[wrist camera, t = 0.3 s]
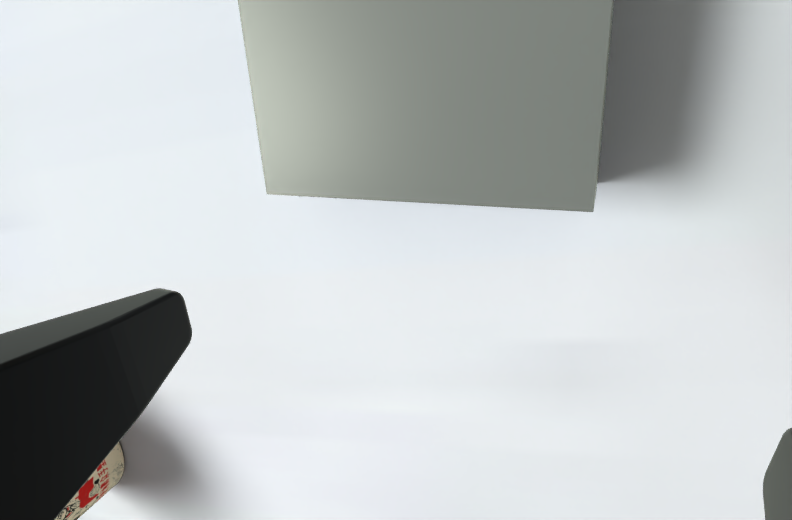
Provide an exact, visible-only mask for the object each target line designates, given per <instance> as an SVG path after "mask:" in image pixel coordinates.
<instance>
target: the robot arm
mask: <svg viewBox="0 0 792 520" xmlns="http://www.w3.org/2000/svg"><path fill="white" fill-rule="evenodd" d="M191 337H192V328H191V324H190V320H189V316H188V313H187V309H186V305H185V301H184V298H183V297H182V295H181V294H180V293H178V292H176V291H171V290H167V289H161V288H158V289H153V290H150V291H146V292H143V293H139V294H136V295H132V296H129V297H126V298H122V299H119V300H115V301H112V302H109V303H105V304H102V305H98V306H95V307H91V308H88V309H85V310H81V311H78V312H74V313H71V314H68V315H64V316H61V317H57V318H54V319H50V320H47V321H44V322H40V323H37V324H33V325H30V326H27V327H23V328H20V329H16V330H13V331H10V332H6V333H3V334H0V520H55V519H56V518H57V516H58V515H59V514H60V513H61V512H62V510H63V509H64V508H65V507H66V505H67V504H68V503H69V502H70V501H71V499H72V498H73V497H74V496H75V494H76V493H77V492H78V491H79V490H80V488H81V487H82V486H83V485H84V484H85V482H86V481H87V480H88V479H89V477H90V476H91V475H92V474H93V473H94V471H95V470H96V469H97V468H98V467H99V465H100V464H101V463H102V462H103V460H104V459H105V458H106V457H107V456H108V454H109V453H110V452H111V451H112V450H113V448H114V447H115V446H116V445H117V443H118V442H119V441H120V440H121V439H122V437H123V436H124V435H125V434H126V433H127V431H128V430H129V429H130V428H131V426H132V425H133V424H134V423H135V421H136V420H137V419H138V418H139V416H140V415H141V414H142V412H143V411H144V409H145V408H146V407H147V405H148V404H149V402H150V401H151V399H152V398H153V396H154V395H155V394H156V392H157V391H158V389H159V388H160V386H161V385H162V383H163V382H164V380H165V379H166V377H167V376H168V374H169V373H170V372H171V370H172V369H173V367H174V366H175V364H176V363H177V361H178V360H179V358H180V357H181V355H182V354H183V353H184V351H185V350H186V348H187V347H188V345H189V343H190V341H191ZM763 498H764V509H765V520H792V428H790V429H788V430H787V431H786V432H785V433H784V434H783V436H782V438H781V440H780V442H779V444H778V447H777V449H776V451H775V453H774V455H773V457H772V460H771V462H770V464H769V466H768V468H767V470H766V473H765V476H764V482H763Z"/></svg>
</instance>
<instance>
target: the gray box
mask: <svg viewBox="0 0 792 520" xmlns="http://www.w3.org/2000/svg"><path fill="white" fill-rule="evenodd" d="M238 5H239V11H240V18H241V25H242V31H243V38H244V45H245V51H246V58H247V65H248V71H249V78H250V85H251V91H252V98H253V105H254V111H255V118H256V125H257V131H258V138H259V145H260V152H261V158H262V165H263V172H264V178H265V185H266V192H267V194H273V195H291V196H309V197H327V198H346V199H364V200H382V201H401V202H419V203H437V204H455V205H474V206H492V207H510V208H529V209H547V210H565V211H583V212H593V209H594V203H595V196H596V189H597V182H598V171H599V160H600V149H601V138H602V127H603V116H604V105H605V94H606V83H607V72H608V61H609V50H610V39H611V28H612V17H613V6H614V0H238Z"/></svg>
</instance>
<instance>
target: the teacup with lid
mask: <svg viewBox="0 0 792 520" xmlns="http://www.w3.org/2000/svg"><path fill="white" fill-rule="evenodd" d="M123 471H124V457H123V452H122V449H121V446H120V444H119V442H118V443H117V445H116V446H115V447H114V448H113V450H112V451H111V452H110V453H109V454H108V456H107V457H106V458H105V459H104V460H103V462H102V463H101V464H100V465H99V467H98V468H97V469H96V470H95V471H94V473H93V474H92V475H91V476H90V477H89V479H88V480H87V481H86V482H85V484H84V485H83V486H82V487H81V488H80V490H79V491H78V492H77V493H76V494H75V496H74V497H73V498H72V499H71V501H70V502H69V503H68V504H67V505H66V507H65V508H64V509H63V510H62V512H61V513H60V514H59V515H58V516H57V518H56V519H55V520H77V519H78V518H79V517H80V516H81V515H83V514H84V513H85V512H86V511H87V510H88V509H89V508H90V507H91V506H93V505H94V504H95V503H96V502H97V501H98V500H99V499H100V498H101V497H103V496H104V495H105V494H106V493H107V492H108V491H109V490H110V489H111V488H113V487H114V486H115V485H116V484H117V483H118V482H119V480H120V479H121V477H122V475H123Z"/></svg>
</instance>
